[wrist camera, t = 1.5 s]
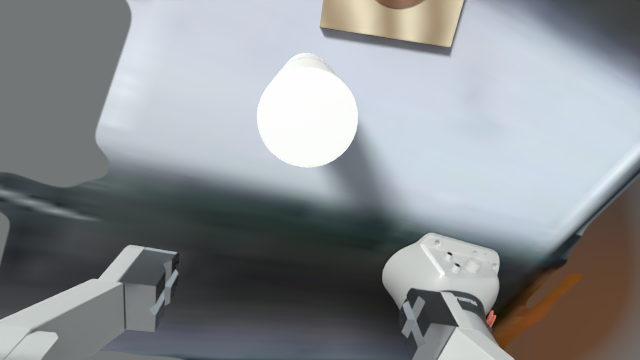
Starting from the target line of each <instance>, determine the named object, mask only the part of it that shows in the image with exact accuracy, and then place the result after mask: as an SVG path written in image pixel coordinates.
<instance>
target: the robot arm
mask: <svg viewBox="0 0 640 360" xmlns="http://www.w3.org/2000/svg"><path fill="white" fill-rule="evenodd" d="M437 240H438V241H437ZM435 241H437V242H435ZM178 263H179V254H178V253H177V252H171V251H165V250H159V249H153V248H148V247H147V248H145V247H140V246H134V245H129V246H127V247H126V248H125V249H124V250H123V251H122V252H121V253H120V255H119V256H118V257H117V258H116V259H115V260H114V261H113V263H112V264H111V265H110V266H109V267H108V268H107V270H106V271H105V272H104V273H103V274H102V275H101V276H100V278H99V279H91V280H89V281H87V282H85V283H82V284H80V285H78V286H76V287H73V288H71V289H69V290H66V291H64V292H62V293H60V294H57V295H55V296H53V297H51V298H48V299H46V300H44V301H42V302H39V303H37V304H35V305H33V306H30V307H28V308H26V309H24V310H21V311H19V312H17V313H15V314H12V315H10V316H8V317H6V318H3V319H1V320H0V360H86V359H88V358H89V357H90V356H92V355H93V354H94V353H96V352H97V351H98V350H100V349H101V348H102V347H104V346H105V345H106V344H108V343H109V342H110V341H112V340H113V339H115V338H116V337H117V336H119V335H120V334H121V333H123V332H124V331H125V329H127V330H139V331H151V332H155V331H156V329H157V327H158V325H159V323H160V321H161V319H162V317H163V315H164V308H165V305H167V304H168V303H170V302H171V299H172V297H173V295H174V292H175V289H176V286H177V281H178V272H177V271H176V270H175V269H176V267H177V265H178ZM498 270H499V256H498V254H497V252H496V251H495V250H492V249H489V248H485V247H482V246H478V245H474V244H471V243H467V242H464V241H460V240H457V239H453V238H450V237H446V236H443V235H439V234H436V233H428V234H426V235H425V236H423V237H422V238H421V239H420V240H419V241H417V242H416V243H414V244H412V245H409V246H407V247H405V248H403V249H401V250H399V251H398V252H396V253H395V254H394V255H393V256H392V257H391V258H390V259H389V260H388V262H387V263H386V265H385V267H384V270H383V274H382V280H383V284H384V287H385V288H386V290H387V291H388V292H389V293H390V295H391V296H392V298H393V299H394V301H395V302H396V304H397V306H398V308H399V310H400V311H399V326H400V329H401V332H402V333H403V334H404V335H405V336H406V337H407V340H406V343H405V344H406V347H407V350H408V353H409V356H410V359H411V360H515V359H513V358H512V357H511V356H510V355H508V354H507V353H506V352H505V351H503V350H502V349H501V348H500V347H499V345H498V344H497V342H496V341H495V339H494V338H493V336H492V335H491V331H492V328H491V327H492V325H493V323H494V321H495V318H496V315H494V316H493V311H491V312H490V314H489V316H488V318H487V320H486V315H487V314H488V312H489V311H490V309H491V308H492V306H493V304H494V302H495V300H496V298H497V295H498V291H499V280H498V277H497V274H498Z"/></svg>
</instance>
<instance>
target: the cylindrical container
mask: <svg viewBox="0 0 640 360" xmlns="http://www.w3.org/2000/svg"><path fill="white" fill-rule="evenodd" d="M257 124H258V129H259V132H260V135H261V138H262V140H263V141H264V143H265V145H266V146H267V148H268V149H269V150H270V151H271V152H272V153H273V154H274V155H275V156H277V157H278V158H279V159H280V160H282V161H284V162H286V163H288V164H291V165H295V166H298V167H318V166H321V165H325V164H327V163H329V162H331V161H334V160H335V159H336V158H338V157H339V156H340V155H342V154H343V152H344V151H345V150H346V149H347V148H348V147H349V145H350V144H351V142H352V140H353V138H354V136H355V133H356V130H357V124H358V110H357V106H356V102H355V99H354V97H353V95H352V93H351V91H350V90H349V88H348V87H347V86H346V84H345V83H344V82H343V81H342V80H341V79H340V78H339V77H338V76H337V75H336V74H335V72H334V71H333V70H332V69H331V68H330V67H329V66H328V65H327V64H326V63H325V62H324V61H323V60H322V59H321V58H320V57H318V56H317V55H314V54H310V53H301V54H298V55H296V56H294V57H292V58H291V59H290V60H289V61H288V62H287V63H286V64H285V66H284V67H283V68H282V69H281V71H280V72H279V73H278V74H277V75H276V77H275V78H274V79H273V80H272V82H271V83H270V84H269V85H268V87H267V88H266V89H265V90H264V92H263V95H262V97H261V99H260V101H259V105H258V110H257Z"/></svg>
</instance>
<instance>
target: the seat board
mask: <svg viewBox="0 0 640 360" xmlns="http://www.w3.org/2000/svg"><path fill="white" fill-rule="evenodd" d="M463 1H464V0H323V7H322V15H321V23H320V27H321V28H327V29H334V30H340V31H347V32H353V33H359V34H366V35H372V36H379V37H385V38H391V39H398V40H404V41H411V42H417V43H423V44H430V45H436V46H442V47H451V43H452V40H453V36H454V33H455V29H456V26H457V22H458V19H459V15H460V12H461V8H462V5H463Z"/></svg>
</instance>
